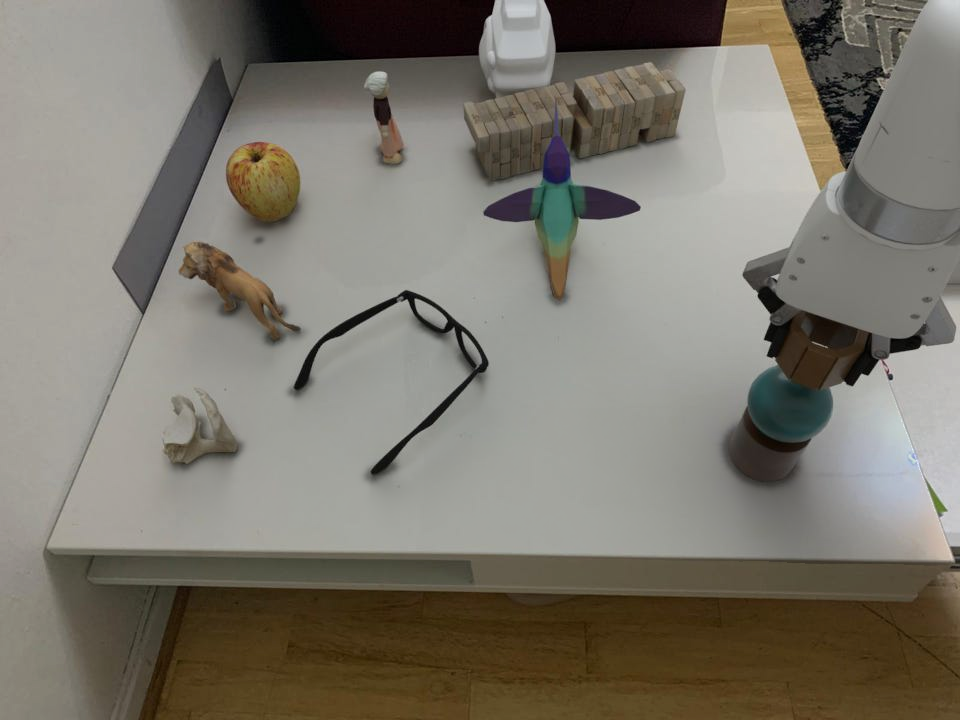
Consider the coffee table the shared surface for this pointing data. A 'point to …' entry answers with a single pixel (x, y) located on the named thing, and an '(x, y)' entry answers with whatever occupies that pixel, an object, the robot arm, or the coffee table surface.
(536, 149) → the block tower
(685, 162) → the coffee table surface
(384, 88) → the grandmother figurine
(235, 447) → the bone
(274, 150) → the apple
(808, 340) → the bronze ring
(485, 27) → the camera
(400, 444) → the glasses
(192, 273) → the lion figurine
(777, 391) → the ball stand
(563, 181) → the decorative sculpture
